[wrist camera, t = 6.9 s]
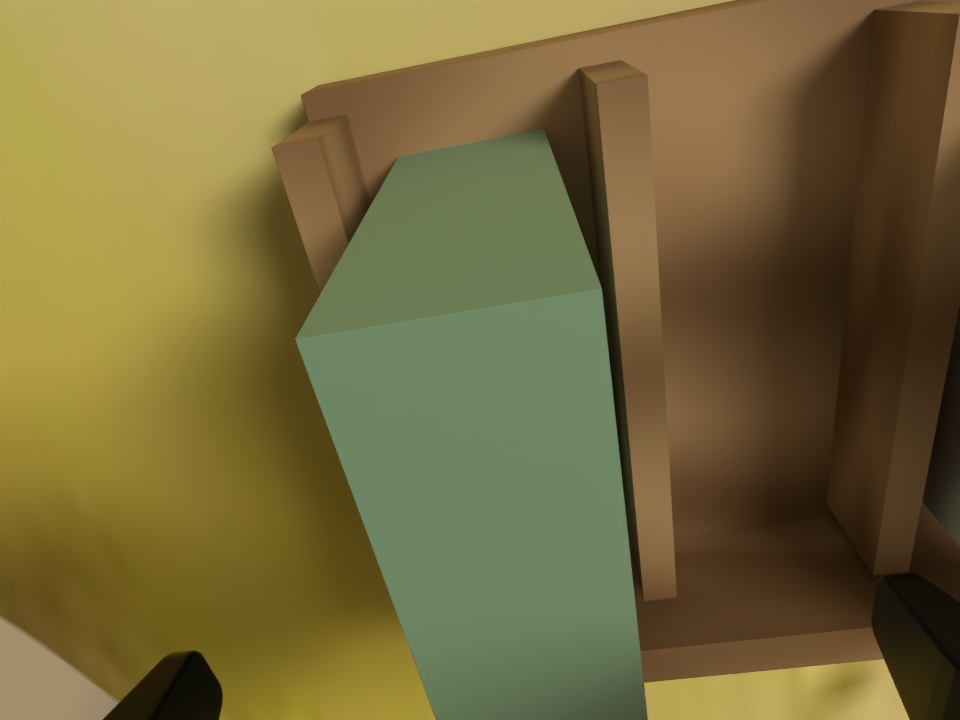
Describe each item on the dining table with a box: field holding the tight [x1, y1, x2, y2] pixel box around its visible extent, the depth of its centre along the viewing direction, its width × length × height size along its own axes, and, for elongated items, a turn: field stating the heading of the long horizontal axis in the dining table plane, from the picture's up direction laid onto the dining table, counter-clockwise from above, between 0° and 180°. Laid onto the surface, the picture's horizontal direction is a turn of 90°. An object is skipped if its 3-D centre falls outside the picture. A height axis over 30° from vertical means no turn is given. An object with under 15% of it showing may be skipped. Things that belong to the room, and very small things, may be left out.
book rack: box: [272, 0, 960, 682], centre depth 13 cm, size 14×17×8 cm
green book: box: [295, 129, 648, 720], centre depth 12 cm, size 10×3×8 cm, turn 11°
